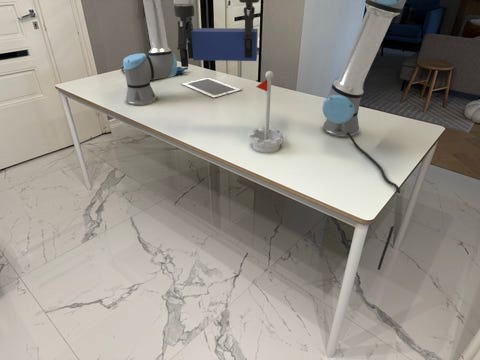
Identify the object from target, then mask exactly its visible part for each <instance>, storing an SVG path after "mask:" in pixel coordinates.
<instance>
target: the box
mask: <svg viewBox="0 0 480 360" xmlns="http://www.w3.org/2000/svg"><path fill="white" fill-rule="evenodd" d="M258 31H259V29H258V28H253V29H252V58H245V40H243V38H244V37H245V28H237V27H235V28H231V27H230V28H229V27H227V28H226V27H225V28H224V27H223V28H222V27H220V28H219V27H218V28H217V27H194V28H193V30H192V31H191V34H192V47H193V61H213V62H214V61H216V62H217V61H221V62H225V61H227V62H257V59H258V35H259V33H258Z"/></svg>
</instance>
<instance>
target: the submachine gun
mask: <svg viewBox="0 0 480 360" xmlns="http://www.w3.org/2000/svg"><path fill="white" fill-rule="evenodd" d="M187 70H189V67H181V66H177V71H176V74H175V75H177V74H183V73H184V72H185V71H187ZM152 81H155V79H153V80H152Z"/></svg>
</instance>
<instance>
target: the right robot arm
mask: <svg viewBox="0 0 480 360" xmlns="http://www.w3.org/2000/svg"><path fill="white" fill-rule="evenodd" d="M238 1H239V2H240V3H241V4H242V3H243V4H245V7H243V20H244V29H245V37H244V38H243V40H245V58H252V29H254V19H255V11H256V9H255V8H256V7H254V4H255V3H259V2H260V0H238ZM406 1H407V0H365V1H364V6H365V8H366V11H365V14H364V16H363V19H362V20H361V21H362V22H361V23H360V26H359V29H358V31H357V32H356V33H357V34H356V35H355V38H354V41H353V43H352V46H351V48H350V51H349V53H348V56H347V58H346V60H345V63H344V66H343V67H342V71H341V73H340V76H339V77H336V78H334V81H333V82H332V84H331V87H330V89H329V92H328V94H327V97H326V98H325V100H324V101H323V104H322V113H323V116H324V117H325V119H326V120H325V121H324V123H323V126H322V130H323V132H324V133H325V134H326V135H329V136H332V137H335V138H339V139H341V138H342V139H350V140H351V142H352V144H353V145H354V146H355V148H356V149H357V150H358V151H359V152H360V153H362V154H363V155H364V156H365V157H366V158H368V160H370V162H372V163H373V164H374V165H375V166H376V167H377V168H378V170H379V171H380V174H381V176H382V177H383V179H384V181H385V182H386V183H387V184H389V185H391V186H393V187H394V188H395V190H396V192H397V193H398V194H400V193H401V189H400V187H399V186H398V184H396V183H395V182H393V181H391V180H390V179H388V178H387V176H386V174H385V171H384V170H383V168H382V166H381V165H380V164H379V163H378V162H377V161H376V160H375V159H374V158H373V157H372V156H370V155H369V154H368V153H367V152H366V151H365V150H363V149H362V148H361V147H360V146H359V145H358V144H357V142H356V141H355V138H354V137H356V136H357V135H359V132H360V125H359V118H358V117H359V116H358V114H359V111H360V110H359V109H360V105H361V99H362V96H363V94H364V88H365V87H364V84H365V80H366V79H367V78H366V77H367V75H368V74H369V71H370V69H371V66H372V65H373V62H374V60H375V58H376V56H377V54H378V51H379V49H380V47H381V44H382V42H383V40H384V38H385V36H386V34H387V32H388V29H389V27H390V25H391V23H392V20H393V18H394V17H396V16H399V15H400V14H401V13H402V11H403V8H404V6H405V4H406ZM394 228H395V225H393V226H390V229H389V233H388V236H387V239H386V241H385V244H384V247H383V251H382V253H381V257H380V260H379V261H378V262H379V263H378V266H377V270H378V271H380V270H381V267H382V264H383V263H384V262H383V261H384V258H385V255H386V252H387V250H388V248H389V245H390V241H391V238H392V235H393V232H394Z"/></svg>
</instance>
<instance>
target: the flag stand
mask: <svg viewBox="0 0 480 360" xmlns="http://www.w3.org/2000/svg"><path fill="white" fill-rule="evenodd" d="M264 77H265V79H266V80H264V81H262V82H261V83H259V84H258V85H256V86H255V87H256V88H257V89H259V90H262V91H264V92H266V96H265V97H266V98H265V99H266V100H265V121H264V123H265V125H264V126H262V129H260V128H257V127H256V128H254V129H252V132H250V133H249V134H250V135H249V140H250V142H251V143H252V148H253V150H255V151H258V152H261V153H274V152H276V151H278V150H279V149H280V148H281V144H282V143H283V141H284V133H283V132H280V129H278V128H273V130H272V129H270V118H271V117H270V114H271V113H270V112H271V97H272V96H271V95H272V94H271V92H272V79H273V78H274V73H273V71H271V70H267V71H266V72H265V75H264Z"/></svg>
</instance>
